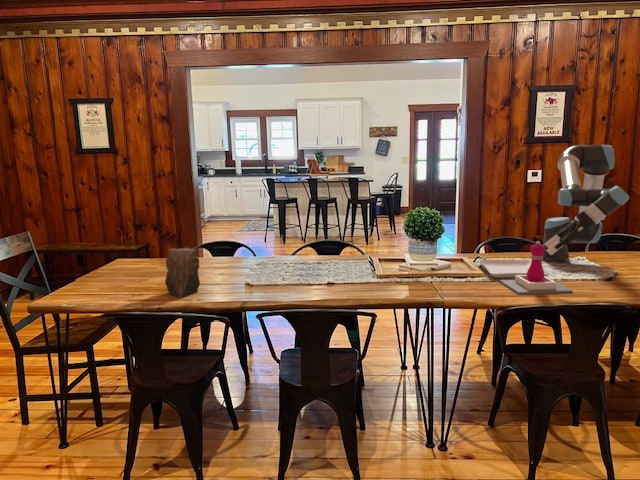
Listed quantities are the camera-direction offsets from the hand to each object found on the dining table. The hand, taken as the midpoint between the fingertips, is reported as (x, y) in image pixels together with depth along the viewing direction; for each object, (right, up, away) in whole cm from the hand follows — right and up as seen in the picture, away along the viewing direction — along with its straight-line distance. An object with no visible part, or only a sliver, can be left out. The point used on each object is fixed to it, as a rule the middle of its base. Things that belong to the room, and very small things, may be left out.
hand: (547, 249), depth 201 cm
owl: (-160, -20, +3) cm, 162 cm away
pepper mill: (-2, -16, +7) cm, 18 cm away
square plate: (-3, -13, +30) cm, 33 cm away
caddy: (-3, -17, +6) cm, 18 cm away
